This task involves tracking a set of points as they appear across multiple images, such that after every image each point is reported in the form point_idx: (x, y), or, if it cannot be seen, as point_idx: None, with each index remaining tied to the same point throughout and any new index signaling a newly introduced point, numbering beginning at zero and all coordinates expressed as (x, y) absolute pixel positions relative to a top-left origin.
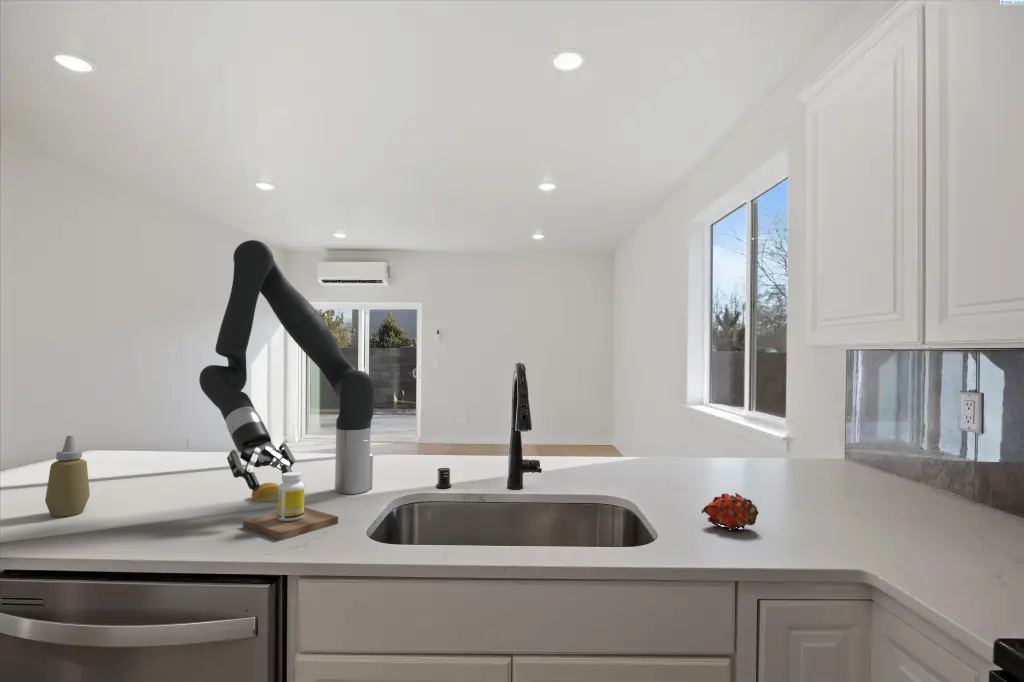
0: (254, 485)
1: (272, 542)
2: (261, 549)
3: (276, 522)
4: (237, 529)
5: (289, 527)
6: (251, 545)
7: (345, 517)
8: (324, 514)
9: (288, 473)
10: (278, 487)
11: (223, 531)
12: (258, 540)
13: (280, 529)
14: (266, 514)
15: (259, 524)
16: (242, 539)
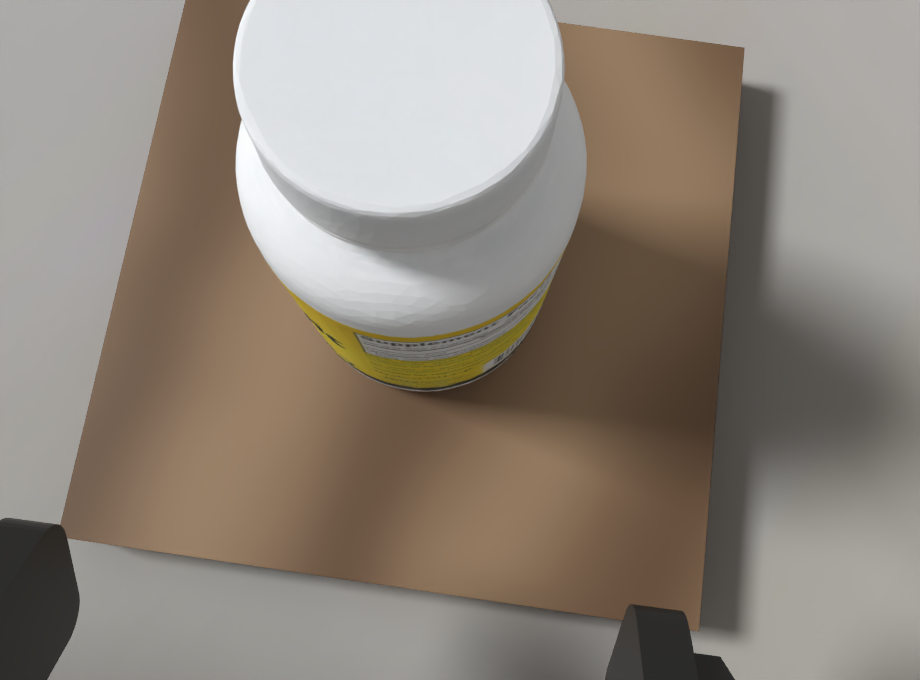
0: (695, 655)
1: (784, 96)
2: (916, 49)
3: (580, 292)
4: (744, 612)
5: (615, 92)
6: (910, 172)
7: (44, 68)
8: (192, 112)
9: (415, 120)
10: (546, 266)
11: (847, 675)
12: (815, 217)
13: (691, 112)
14: (451, 594)
15: (699, 376)
16: (872, 342)
